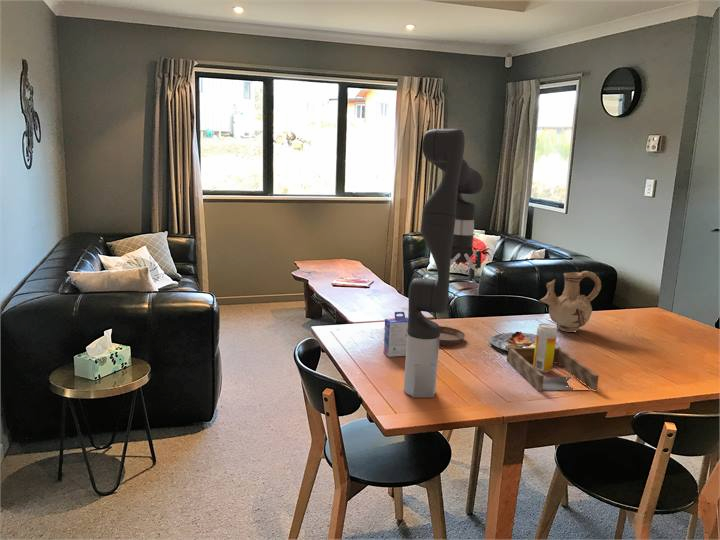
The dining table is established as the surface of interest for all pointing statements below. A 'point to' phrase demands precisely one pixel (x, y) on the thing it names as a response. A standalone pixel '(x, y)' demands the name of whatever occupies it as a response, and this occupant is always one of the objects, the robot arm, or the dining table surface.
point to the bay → (521, 364)
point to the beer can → (544, 347)
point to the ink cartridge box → (396, 335)
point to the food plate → (515, 340)
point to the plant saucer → (450, 336)
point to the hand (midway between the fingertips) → (458, 280)
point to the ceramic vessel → (571, 301)
